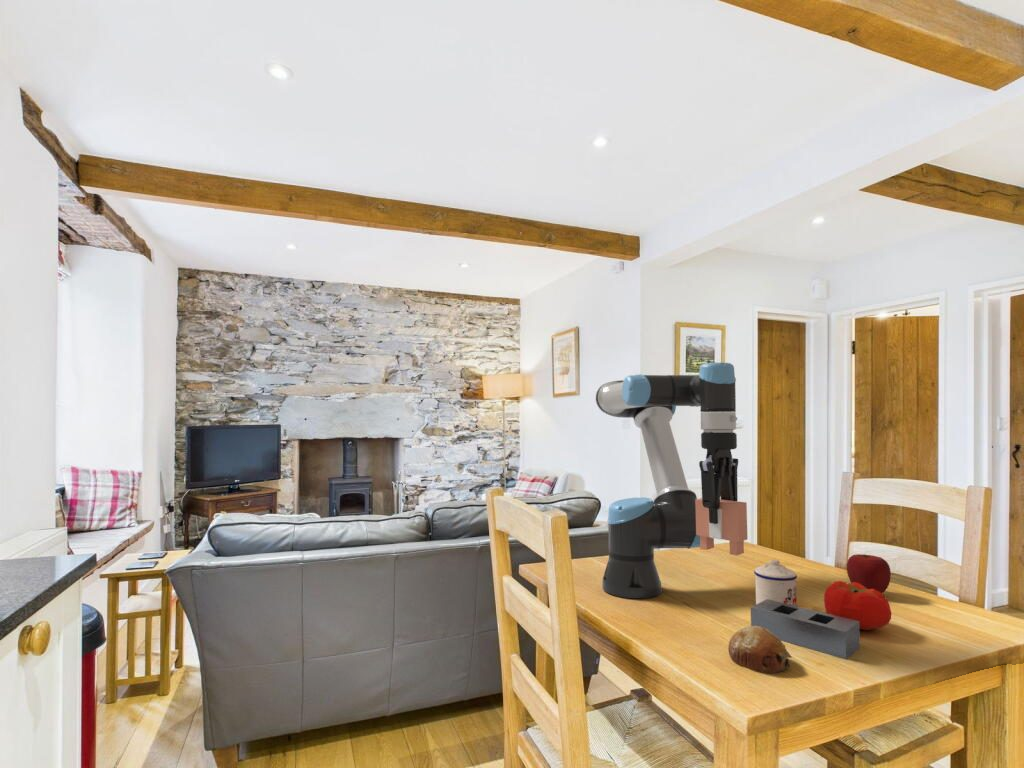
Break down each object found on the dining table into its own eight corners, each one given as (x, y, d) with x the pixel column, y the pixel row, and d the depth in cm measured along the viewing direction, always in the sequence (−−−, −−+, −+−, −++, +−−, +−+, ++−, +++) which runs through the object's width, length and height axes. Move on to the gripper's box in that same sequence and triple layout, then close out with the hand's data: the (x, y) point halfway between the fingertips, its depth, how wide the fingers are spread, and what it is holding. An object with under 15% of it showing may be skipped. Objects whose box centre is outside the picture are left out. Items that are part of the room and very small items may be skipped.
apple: (867, 586, 148) (866, 548, 148) (901, 598, 138) (899, 557, 139) (838, 589, 145) (837, 551, 146) (871, 601, 136) (869, 560, 137)
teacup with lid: (792, 620, 124) (790, 567, 124) (749, 611, 129) (748, 560, 130) (805, 606, 133) (803, 556, 134) (765, 598, 139) (763, 551, 139)
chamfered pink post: (696, 548, 126) (695, 499, 127) (705, 545, 129) (704, 497, 130) (739, 556, 119) (737, 504, 120) (747, 553, 122) (746, 502, 122)
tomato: (887, 644, 111) (885, 599, 111) (817, 629, 119) (815, 587, 119) (896, 624, 121) (895, 583, 122) (831, 611, 129) (829, 573, 130)
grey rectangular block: (751, 631, 118) (750, 607, 118) (767, 622, 123) (766, 599, 123) (846, 659, 104) (845, 631, 104) (860, 647, 110) (859, 621, 110)
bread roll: (763, 669, 108) (747, 625, 112) (807, 664, 101) (788, 617, 104) (727, 680, 104) (712, 634, 107) (771, 677, 96) (752, 627, 99)
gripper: (715, 432, 117) (717, 545, 116) (752, 430, 128) (755, 533, 127) (683, 431, 123) (685, 539, 121) (721, 430, 134) (724, 528, 133)
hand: (721, 536), depth 124 cm, fingers closed on chamfered pink post, 4 cm apart
